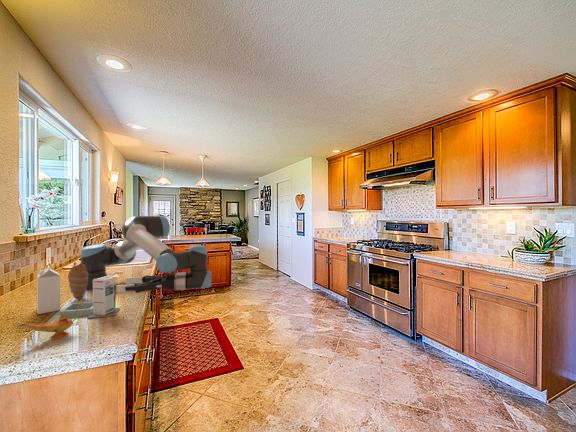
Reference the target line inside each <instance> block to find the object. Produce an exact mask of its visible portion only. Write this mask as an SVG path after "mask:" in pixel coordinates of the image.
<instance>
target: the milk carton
mask: <svg viewBox="0 0 576 432" xmlns="http://www.w3.org/2000/svg"><path fill="white" fill-rule="evenodd" d="M36 281H37V282H36V312H37V315H40V314H46V313H52V312H57V311H61V275H60V273H59V272H57V271H55V270H54V269H52V268H51V267H50V266H49V264H48V265H47V267H46V268H45V269H43V268H42V269H41V270H39V271H38V273H37V276H36Z"/></svg>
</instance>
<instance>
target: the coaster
mask: <svg viewBox="0 0 576 432" xmlns="http://www.w3.org/2000/svg"><path fill="white" fill-rule="evenodd" d="M120 309H121V308H120V307H116V310H115V311H113V312H110V313H108V314H106V315H97V314H93V313H92V314H91V315H87V317H86V318H87V319H88V320H89V319H99V318H100V319H101V318H113V317H115V315H116V314H117V313H118V312H119V310H120Z"/></svg>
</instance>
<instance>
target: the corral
mask: <svg viewBox="0 0 576 432" xmlns="http://www.w3.org/2000/svg"><path fill="white" fill-rule="evenodd" d="M78 304H79V302H78ZM78 304H77V302H72V303H70V304H68V305H67V306H65V307H64V308H63V309H62V310H59V318H60V317H61V316H62V314H63V313H64V314H65V316H69V317H68V318H71V317H73V315H74V314H75V312H76V310H77V308H78V307H77V306H79V308H78V312H77V314H76V315H75V316H74V317H78V316H80V315H81V314H82V313H83V312H84V311H85V309H86V311H85V313H84V314H83V315H81V316H80V317H85V316H87V317H88V316H89V315H91V314H92V313H93V301H83V303H82V302H81V305H82V306H83V307H85V309H84V308H83V307H81V306H80V305H78ZM74 317H73V318H74Z"/></svg>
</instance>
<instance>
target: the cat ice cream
mask: <svg viewBox="0 0 576 432" xmlns="http://www.w3.org/2000/svg"><path fill="white" fill-rule="evenodd" d="M67 275H68V276H67V279H68V282H69V285H68V286H69V290H70V292H71V294H72V296H73V298H74V299H75V300H82V299H83V298H84V297H85V294H86V291H87V290H86V287H87V284H88V283H87V282H88V272H87V271H86V266H85V265H84V264H83V263H81V262H80V263H77V262H76V261H73V265H72V266H71V268H70V270H69V272H68V274H67Z"/></svg>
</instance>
